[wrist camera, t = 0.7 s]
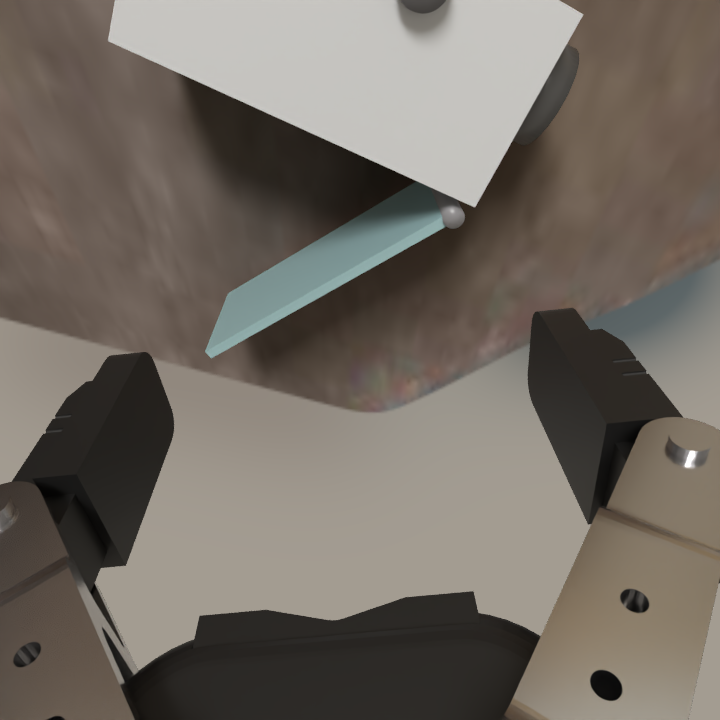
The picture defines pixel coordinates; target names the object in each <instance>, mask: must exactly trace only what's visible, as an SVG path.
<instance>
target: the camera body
mask: <svg viewBox="0 0 720 720" xmlns="http://www.w3.org/2000/svg"><path fill="white" fill-rule="evenodd" d="M582 16H583V14H582V13H580V12H578V11H576V10H575V9H573V8H571V7H570V6H568V5H566V4H564V3H563V2H561V1H559V0H115V4H114V9H113V15H112V21H111V27H110V33H109V38H108V41H109V42H111V43H114V44H116V45H118V46H120V47H122V48H125V49H127V50H129V51H131V52H133V53H136V54H138V55H140V56H142V57H144V58H147V59H149V60H151V61H153V62H156V63H158V64H160V65H162V66H164V67H167V68H169V69H171V70H173V71H175V72H178V73H180V74H182V75H184V76H186V77H189V78H191V79H193V80H195V81H197V82H200V83H202V84H204V85H206V86H208V87H211V88H213V89H215V90H217V91H219V92H222V93H224V94H226V95H228V96H230V97H233V98H235V99H237V100H239V101H241V102H244V103H246V104H248V105H250V106H252V107H255V108H257V109H259V110H261V111H263V112H266V113H268V114H270V115H272V116H274V117H277V118H279V119H281V120H283V121H285V122H288V123H290V124H292V125H294V126H296V127H299V128H301V129H303V130H305V131H307V132H310V133H312V134H314V135H316V136H318V137H321V138H323V139H325V140H327V141H329V142H332V143H334V144H336V145H338V146H341V147H343V148H345V149H347V150H349V151H352V152H354V153H356V154H358V155H360V156H363V157H365V158H367V159H369V160H371V161H374V162H376V163H378V164H380V165H382V166H385V167H387V168H389V169H391V170H393V171H396V172H398V173H400V174H402V175H404V176H407V177H409V178H411V179H413V180H415V181H418V182H420V183H422V184H424V185H426V186H429V187H431V188H433V189H435V190H437V191H440V192H442V193H444V194H446V195H448V196H451V197H453V198H455V199H457V200H459V201H462V202H464V203H466V204H468V205H470V206H473V207H476V205H477V203H478V201H479V199H480V198H481V196H482V194H483V192H484V191H485V189H486V187H487V185H488V183H489V182H490V180H491V178H492V176H493V174H494V173H495V171H496V169H497V167H498V166H499V164H500V162H501V160H502V158H503V157H504V155H505V153H506V151H507V150H508V148H509V146H510V144H511V142H512V141H514V142H516V143H518V144H520V145H527V144H530V143H531V142H533V141H534V140H535V139H536V138H537V137H539V136H540V135H541V134H542V132H543V131H544V130H545V129H546V128H547V127H548V125H549V124H550V123H551V121H552V120H553V119H554V117H555V116H556V114H557V113H558V111H559V109H560V108H561V106H562V104H563V103H564V101H565V99H566V97H567V95H568V93H569V91H570V89H571V86H572V84H573V81H574V79H575V76H576V73H577V69H578V64H579V53H578V51H577V49H575V48H573V47H572V46H570V45H568V44H567V43H568V41H569V39H570V37H571V36H572V34H573V32H574V30H575V28H576V27H577V25H578V23H579V21H580V20H581V18H582Z"/></svg>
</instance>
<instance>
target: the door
mask: <svg viewBox="0 0 720 720" xmlns="http://www.w3.org/2000/svg"><path fill="white" fill-rule="evenodd" d="M464 220H465V215H464V212H463V210H462V208H461V206H460V204H459V202H458V200H457V199H455V198H453V197H451V196H448V195H446V194H444V193H442V192H440V191H437V190H435V189H433V188H431V187H429V186H426V185H424V184H422V183H420V182H418V181H416V182H414V183H413V184H411V185H409V186H408V187H406V188H404V189H403V190H401V191H399V192H398V193H396V194H394V195H393V196H391V197H389V198H388V199H386V200H384V201H382V202H381V203H379V204H377V205H376V206H374V207H372V208H371V209H369V210H367V211H366V212H364V213H362V214H361V215H359V216H357V217H356V218H354V219H352V220H351V221H349V222H347V223H346V224H344V225H342V226H340V227H339V228H337V229H335V230H334V231H332V232H330V233H329V234H327V235H325V236H324V237H322V238H320V239H319V240H317V241H315V242H314V243H312V244H310V245H309V246H307V247H305V248H304V249H302V250H300V251H298V252H297V253H295V254H293V255H292V256H290V257H288V258H287V259H285V260H283V261H282V262H280V263H278V264H277V265H275V266H273V267H272V268H270V269H268V270H267V271H265V272H263V273H262V274H260V275H258V276H256V277H255V278H253V279H251V280H250V281H248V282H246V283H245V284H243V285H241V286H240V287H238V288H236V289H235V290H233V291H231V292H230V293H228V295H227V298H226V300H225V303H224V305H223V308H222V310H221V313H220V315H219V318H218V320H217V323H216V325H215V328H214V330H213V333H212V335H211V338H210V340H209V343H208V345H207V348H206V350H205V352H206V353H207V354H208V355H209V356H210V358H213V357H214V356H216V355H218V354H220V353H222V352H223V351H225V350H227V349H229V348H230V347H232V346H234V345H236V344H238V343H239V342H241V341H243V340H245V339H247V338H248V337H250V336H252V335H254V334H255V333H257V332H259V331H261V330H263V329H264V328H266V327H268V326H270V325H271V324H273V323H275V322H277V321H279V320H280V319H282V318H284V317H286V316H287V315H289V314H291V313H293V312H295V311H296V310H298V309H300V308H302V307H304V306H305V305H307V304H309V303H311V302H312V301H314V300H316V299H318V298H320V297H321V296H323V295H325V294H327V293H328V292H330V291H332V290H334V289H336V288H337V287H339V286H341V285H343V284H345V283H346V282H348V281H350V280H352V279H353V278H355V277H357V276H359V275H361V274H362V273H364V272H366V271H368V270H369V269H371V268H373V267H375V266H377V265H378V264H380V263H382V262H384V261H385V260H387V259H389V258H391V257H393V256H394V255H396V254H398V253H400V252H402V251H403V250H405V249H407V248H409V247H410V246H412V245H414V244H416V243H418V242H419V241H421V240H423V239H425V238H426V237H428V236H430V235H432V234H434V233H435V232H437V231H439V230H441V229H443V228H444V227H448V228H451V229H455V228H458V227H460V226H461V225H462V224H463V222H464Z"/></svg>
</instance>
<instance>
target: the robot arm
mask: <svg viewBox="0 0 720 720" xmlns="http://www.w3.org/2000/svg"><path fill="white" fill-rule="evenodd" d="M528 386H529V393H530V397H531V400H532V403H533V406H534V408H535V410H536V412H537V414H538V416H539V418H540V421H541V423H542V425H543V427H544V429H545V432H546V434H547V436H548V438H549V440H550V442H551V444H552V447H553V449H554V451H555V453H556V455H557V458H558V460H559V462H560V464H561V466H562V469H563V471H564V473H565V475H566V477H567V479H568V482H569V484H570V486H571V488H572V490H573V493H574V495H575V497H576V499H577V501H578V503H579V506H580V508H581V510H582V512H583V514H584V516H585V519H586V521H587V523H588V524H591V526H590V529H589V531H588V533H587V535H586V537H585V540H584V542H583V544H582V546H581V548H580V551H579V553H578V555H577V557H576V559H575V562H574V564H573V566H572V568H571V571H570V573H569V575H568V577H567V580H566V582H565V584H564V586H563V588H562V590H561V593H560V595H559V597H558V599H557V602H556V604H555V606H554V608H553V610H552V613H551V615H550V617H549V619H548V621H547V624H546V626H545V628H544V630H543V633H542V635H541V636H539V635H537V634H536V633H534V632H532V631H530V630H528V629H527V628H525V627H523V626H520V625H517V624H515V623H513V622H510V621H508V620H505V619H501V618H498V617H494V616H491V615H486V614H480V613H478V610H477V605H476V601H475V596H474V592H462V593H450V594H439V595H427V596H416V597H405V598H403V599H399V600H397V601H394V602H391V603H388V604H385V605H382V606H379V607H376V608H373V609H370V610H367V611H365V612H361V613H359V614H356V615H353V616H350V617H347V618H344V619H340V620H334V621H331V620H323V619H317V618H311V617H305V616H299V615H293V614H287V613H281V612H275V611H269V610H261V611H249V612H239V613H228V614H215V615H204V616H200V617H199V621H198V626H197V630H196V635H195V639H194V640H191V641H189V642H186V643H184V644H182V645H180V646H178V647H175V648H173V649H171V650H169V651H168V652H166V653H164V654H163V655H161V656H159V657H158V658H156V659H154V660H153V661H152V662H150V663H149V664H147V665H146V666H145V667H144V668H142V669H141V670H138V668H137V667H136V665H135V663H134V661H133V659H132V657H131V655H130V652H129V650H128V648H127V646H126V644H125V642H124V640H123V638H122V636H121V633H120V631H119V629H118V627H117V625H116V623H115V621H114V619H113V617H112V614H111V612H110V610H109V608H108V606H107V604H106V602H105V599H104V597H103V595H102V593H101V591H100V589H99V588H98V586H97V584H96V583H95V581H96V578H97V576H98V573H99V571H100V568H104V567H115V566H126V564H127V561H128V558H129V555H130V553H131V550H132V547H133V544H134V541H135V539H136V536H137V534H138V531H139V528H140V525H141V523H142V520H143V517H144V514H145V512H146V509H147V506H148V503H149V501H150V498H151V495H152V493H153V490H154V487H155V484H156V482H157V479H158V476H159V473H160V471H161V468H162V465H163V463H164V460H165V457H166V454H167V452H168V449H169V446H170V443H171V441H172V437H173V432H174V418H173V413H172V409H171V406H170V404H169V401H168V398H167V396H166V393H165V390H164V387H163V385H162V383H161V379H160V377H159V374H158V372H157V369H156V366H155V364H154V361H153V359H152V357H151V356H150V355H149V354H148V353H147V352H140V353H131V354H122V355H112V356H109V357H108V358H107V359H106V360H105V362H104V363H103V365H102V366H101V368H100V370H99V372H98V373H97V375H96V376H95V378H94V379H93V381H89V382H85V383H84V384H83V385H82V386H81V387H79V388H78V389H77V390H76V391H75V392H74V393H72V394H71V395H70V396H68V397H67V398H66V400H65V401H64V403H63V404H62V406H61V407H60V409H59V410H58V412H57V414H56V415H55V417H56V418H55V419H53V420H52V421H51V423H50V424H49V426H48V427H47V429H46V434H43V435H42V436H41V438H40V440H39V441H38V442H37V444H36V446H35V447H34V449H33V450H32V452H31V453H30V455H29V456H28V458H27V459H26V461H25V462H24V464H23V465H22V467H21V469H20V470H19V471H18V473H17V475H16V476H15V478H14V479H13V481H12V482H9V483H5V484H1V485H0V720H688V719H689V715H690V710H691V706H692V702H693V696H694V692H695V688H696V683H697V679H698V674H699V670H700V665H701V660H702V656H703V652H704V647H705V643H706V638H707V634H708V629H709V624H710V620H711V616H712V610H713V607H714V602H715V597H716V593H717V588H718V584H719V583H720V430H718V429H716V428H715V427H713V426H711V425H708V424H706V423H703V422H700V421H697V420H693V419H688V418H683V417H682V415H681V414H680V413H679V411H678V410H677V409H676V408H675V406H674V405H673V404H672V403H671V401H670V400H669V399H668V398H667V396H666V395H665V394H664V392H663V391H662V390H661V389H660V387H659V386H658V385H657V384H656V382H655V381H654V380H653V379H652V377H651V376H650V375H649V374H646V370H645V368H644V367H643V366H642V365H641V363H640V362H639V361H636V357H635V356H634V355H633V353H632V352H631V351H630V349H629V348H628V347H627V346H626V345H625V343H624V342H623V341H621V340H619V339H618V338H616V337H614V336H613V335H611V334H609V333H608V332H606V331H605V330H603V329H598V330H590V329H589V328H588V326H587V325H586V324H585V322H584V321H583V320H582V318H581V317H580V315H579V314H578V313H577V311H576V310H575V309H574V308H567V309H558V310H548V311H539V312H535V313H534V315H533V319H532V326H531V339H530V352H529V366H528Z"/></svg>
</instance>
